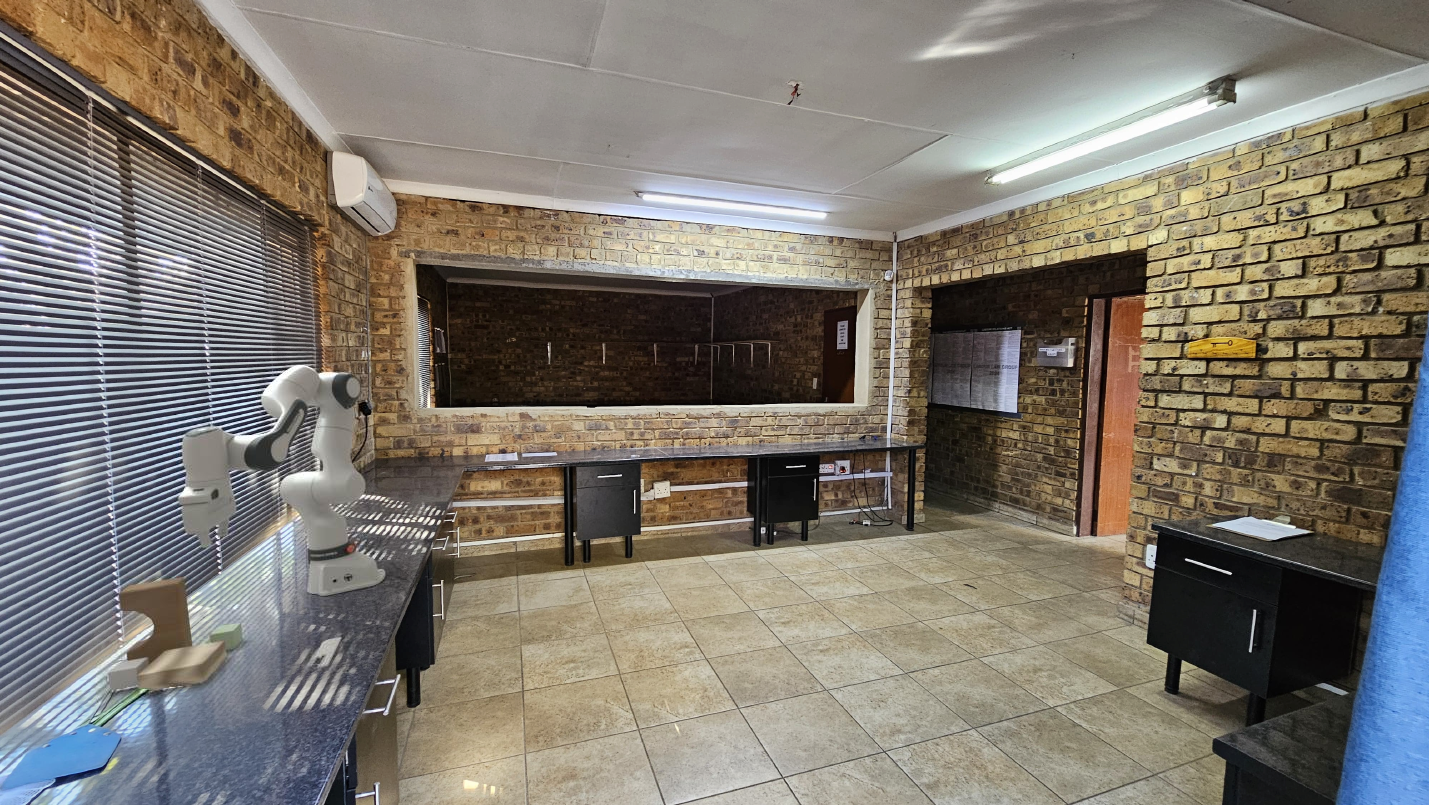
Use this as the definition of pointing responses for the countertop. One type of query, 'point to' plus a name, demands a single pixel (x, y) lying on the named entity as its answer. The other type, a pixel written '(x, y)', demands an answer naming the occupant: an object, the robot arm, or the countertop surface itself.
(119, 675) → the grey plastic cube
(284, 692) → the countertop surface
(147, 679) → the pale maple block
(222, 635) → the sage green cube
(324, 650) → the white plastic strip tool
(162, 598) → the decorative block
